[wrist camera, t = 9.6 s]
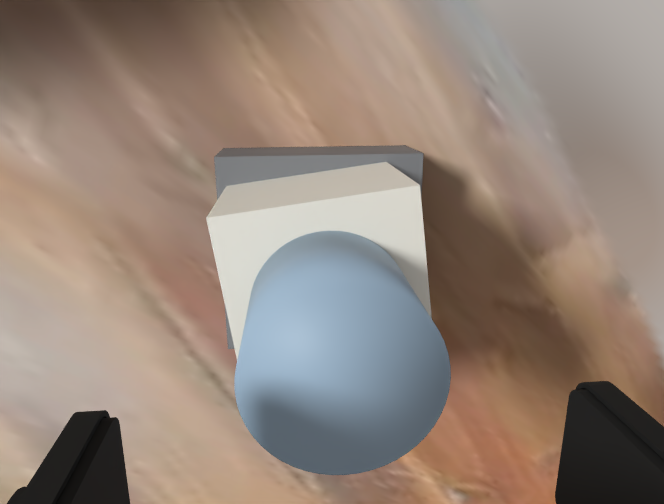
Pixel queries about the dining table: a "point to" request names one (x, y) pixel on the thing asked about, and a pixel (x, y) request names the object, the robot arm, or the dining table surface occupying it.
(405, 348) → the pale blue rounded part
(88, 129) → the dining table surface
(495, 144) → the dining table surface
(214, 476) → the dining table surface
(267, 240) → the tower block
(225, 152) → the tower base
